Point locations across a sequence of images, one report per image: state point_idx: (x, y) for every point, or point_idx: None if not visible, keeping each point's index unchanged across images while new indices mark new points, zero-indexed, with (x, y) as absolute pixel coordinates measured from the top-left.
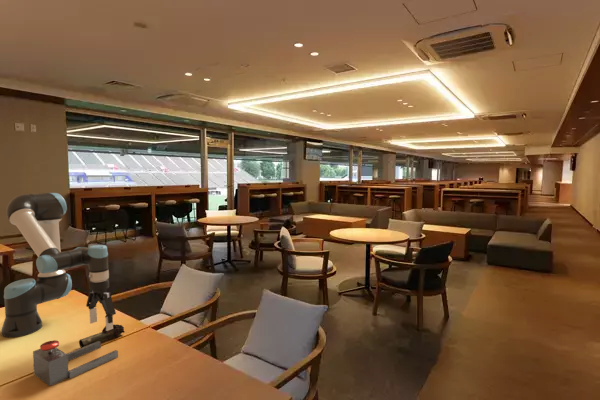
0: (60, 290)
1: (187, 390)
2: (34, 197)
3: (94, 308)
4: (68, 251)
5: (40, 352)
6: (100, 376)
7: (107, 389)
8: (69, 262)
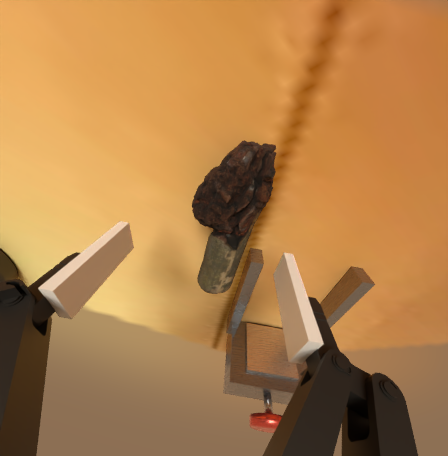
0: None
1: None
2: None
3: (58, 300)
4: None
5: (243, 394)
6: (367, 321)
7: (411, 338)
8: None
